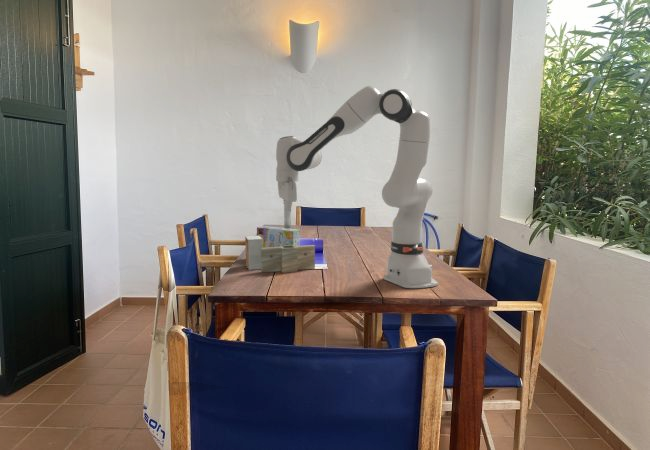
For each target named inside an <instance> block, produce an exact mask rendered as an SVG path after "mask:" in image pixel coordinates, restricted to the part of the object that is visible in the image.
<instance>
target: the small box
mask: <svg viewBox="0 0 650 450" xmlns="http://www.w3.org/2000/svg"><path fill="white" fill-rule="evenodd" d="M244 239H245V240H244V241H245V266H246V267H247V269H248V271H251V270H252V271H253V270H261V248H263V239H262V238H261V237H260V236H257V235H249V236H245V237H244Z"/></svg>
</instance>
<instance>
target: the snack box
mask: <svg viewBox="0 0 650 450" xmlns="http://www.w3.org/2000/svg"><path fill="white" fill-rule="evenodd" d="M300 232H301V231H300V229H295V228H290V229H285V228H284V227H277V226H269V225H263V226H257V227H256V236H260V237H261V238H262V239H263V248H269V247H279V246H283V245H295V246H301V245H300V242H301V241H300V238H301V237H300V234H301V233H300Z"/></svg>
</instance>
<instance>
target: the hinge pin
mask: <svg viewBox="0 0 650 450" xmlns="http://www.w3.org/2000/svg"><path fill="white" fill-rule="evenodd" d="M286 207H287V203H286V200H284V202H283V211H284V213H283V223H284V225H283V226H284V227H283V228H285V229H292V211H291V212H287V211H286Z"/></svg>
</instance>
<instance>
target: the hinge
mask: <svg viewBox="0 0 650 450" xmlns="http://www.w3.org/2000/svg"><path fill="white" fill-rule="evenodd" d="M315 266H316V245H315V244H311V245H310V244H307V245H300V246H295V245H283V246H279V247H269V248H261V269H260V270H261V273H272V272H273V273H275V272H281V273H284V274H285V273H294V272H298V271H302V270H314V269H316V267H315Z"/></svg>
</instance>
